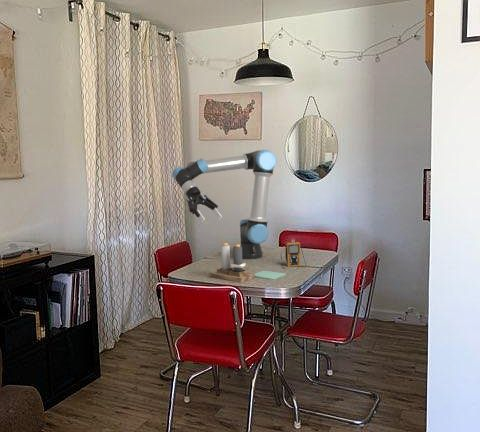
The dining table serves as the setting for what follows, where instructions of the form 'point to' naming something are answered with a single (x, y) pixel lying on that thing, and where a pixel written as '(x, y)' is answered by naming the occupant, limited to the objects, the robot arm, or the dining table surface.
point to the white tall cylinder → (225, 256)
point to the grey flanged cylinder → (237, 259)
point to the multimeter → (293, 253)
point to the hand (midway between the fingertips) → (212, 219)
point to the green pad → (269, 275)
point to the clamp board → (232, 275)
